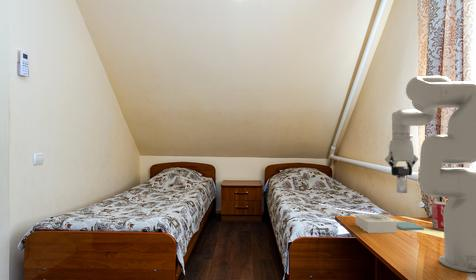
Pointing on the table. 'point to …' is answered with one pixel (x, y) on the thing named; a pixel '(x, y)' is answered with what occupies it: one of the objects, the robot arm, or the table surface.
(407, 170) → the handwheel peg
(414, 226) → the pad
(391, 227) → the block
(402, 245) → the table surface
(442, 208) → the soda can
